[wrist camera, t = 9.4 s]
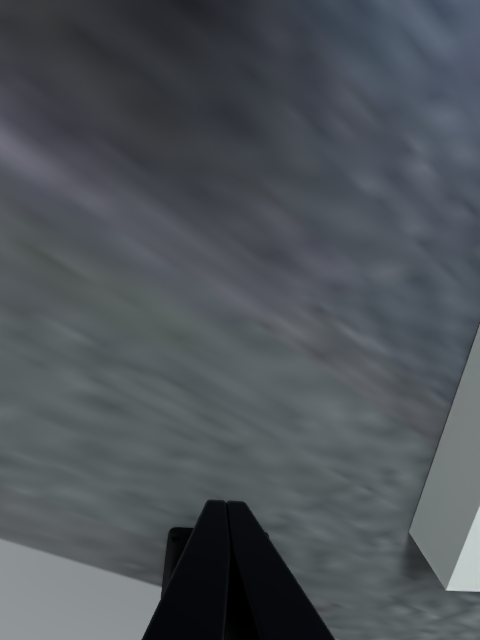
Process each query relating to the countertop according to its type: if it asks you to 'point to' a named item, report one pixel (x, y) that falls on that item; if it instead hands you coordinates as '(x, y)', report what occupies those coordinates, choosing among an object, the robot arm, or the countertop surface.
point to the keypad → (455, 490)
